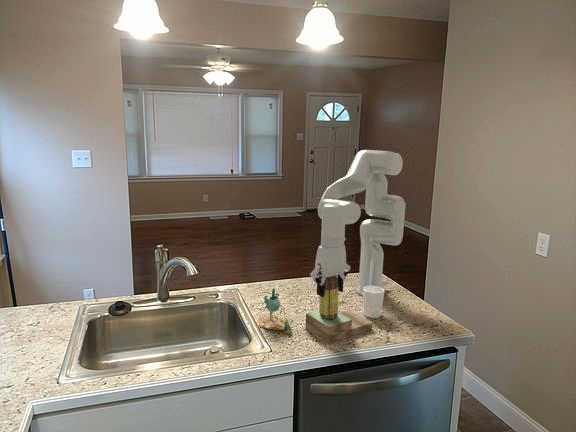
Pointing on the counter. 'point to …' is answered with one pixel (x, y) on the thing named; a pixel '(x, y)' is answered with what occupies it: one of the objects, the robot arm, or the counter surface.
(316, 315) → the stand
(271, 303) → the teal toy figure
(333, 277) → the sauce bottle
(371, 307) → the white cup
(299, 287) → the counter surface
